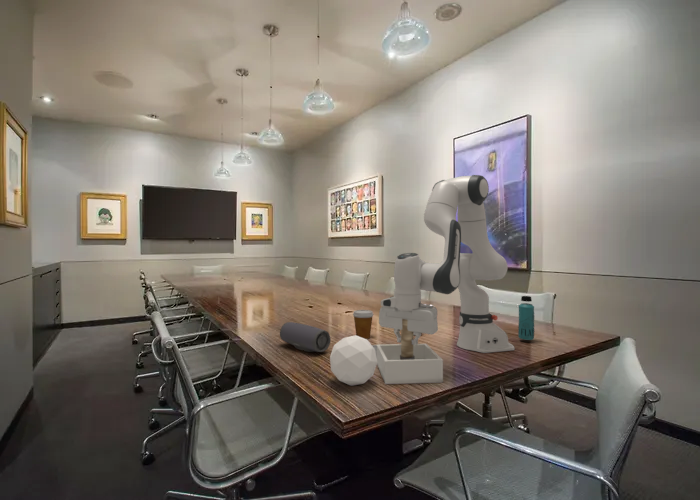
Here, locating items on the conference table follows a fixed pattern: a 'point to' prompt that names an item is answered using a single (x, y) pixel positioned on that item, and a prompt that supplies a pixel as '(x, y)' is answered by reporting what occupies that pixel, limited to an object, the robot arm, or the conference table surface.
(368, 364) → the geometric sphere
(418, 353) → the grey bin
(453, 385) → the conference table surface
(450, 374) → the conference table surface
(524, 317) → the beverage bottle
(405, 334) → the birch strut
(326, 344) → the bluetooth speaker
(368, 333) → the disposable coffee cup
